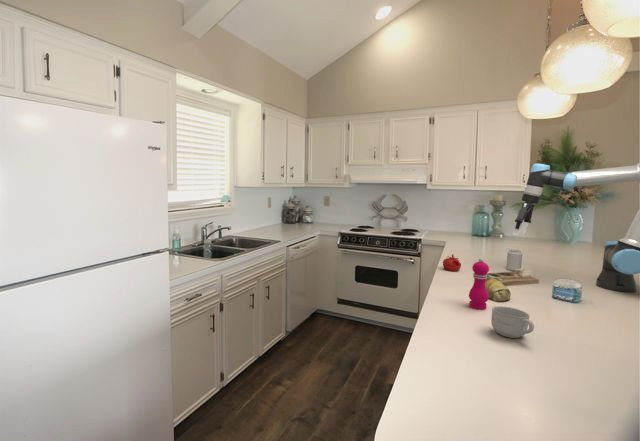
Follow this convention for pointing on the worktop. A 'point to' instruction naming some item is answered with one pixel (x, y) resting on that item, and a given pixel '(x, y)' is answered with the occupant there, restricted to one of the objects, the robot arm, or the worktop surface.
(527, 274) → the birch block
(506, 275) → the board
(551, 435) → the worktop surface
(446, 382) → the worktop surface
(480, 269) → the pepper mill
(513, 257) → the can
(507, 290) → the pastry
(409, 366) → the worktop surface
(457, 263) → the pomegranate
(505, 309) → the teacup
